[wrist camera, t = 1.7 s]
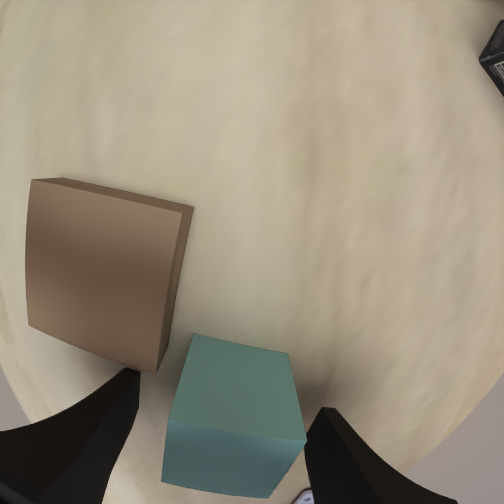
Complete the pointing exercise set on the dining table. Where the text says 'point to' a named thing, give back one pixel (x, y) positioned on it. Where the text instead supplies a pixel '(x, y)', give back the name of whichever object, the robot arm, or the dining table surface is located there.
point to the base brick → (104, 268)
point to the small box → (495, 56)
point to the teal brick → (233, 420)
